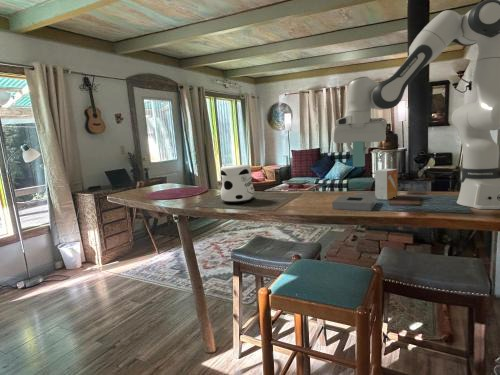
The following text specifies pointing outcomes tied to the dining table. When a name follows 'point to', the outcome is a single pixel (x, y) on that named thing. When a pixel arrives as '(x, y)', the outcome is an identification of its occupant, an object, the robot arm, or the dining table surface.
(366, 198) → the socket
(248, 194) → the milk container
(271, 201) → the dining table surface
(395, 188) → the small box
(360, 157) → the peg
